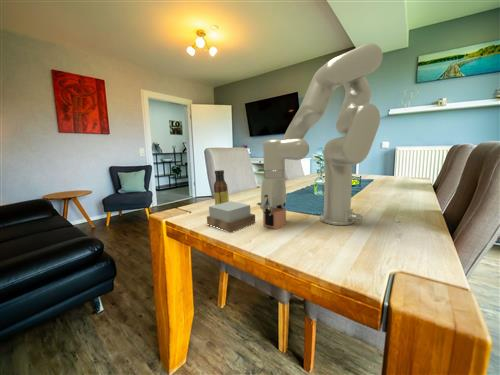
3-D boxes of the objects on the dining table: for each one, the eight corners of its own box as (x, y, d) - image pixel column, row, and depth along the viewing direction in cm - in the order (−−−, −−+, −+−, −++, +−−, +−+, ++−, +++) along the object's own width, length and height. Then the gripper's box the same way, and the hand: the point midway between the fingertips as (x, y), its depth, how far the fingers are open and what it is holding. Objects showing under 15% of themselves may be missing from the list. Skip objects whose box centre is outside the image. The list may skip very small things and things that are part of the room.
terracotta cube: (285, 224, 81) (285, 209, 80) (276, 229, 77) (276, 212, 76) (272, 221, 85) (272, 207, 84) (263, 225, 81) (263, 210, 80)
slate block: (250, 215, 83) (250, 205, 82) (228, 222, 75) (228, 211, 74) (230, 210, 90) (230, 201, 90) (209, 216, 82) (208, 206, 82)
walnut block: (255, 224, 84) (255, 214, 84) (230, 234, 75) (230, 223, 74) (231, 218, 93) (231, 209, 92) (207, 226, 83) (206, 216, 83)
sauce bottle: (230, 211, 101) (229, 169, 98) (228, 215, 95) (226, 170, 92) (217, 211, 102) (214, 169, 99) (213, 215, 96) (211, 170, 93)
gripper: (278, 172, 87) (279, 215, 90) (250, 176, 74) (252, 227, 77) (295, 173, 82) (295, 219, 85) (268, 177, 69) (269, 231, 72)
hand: (274, 222), depth 81 cm, fingers closed on terracotta cube, 6 cm apart
